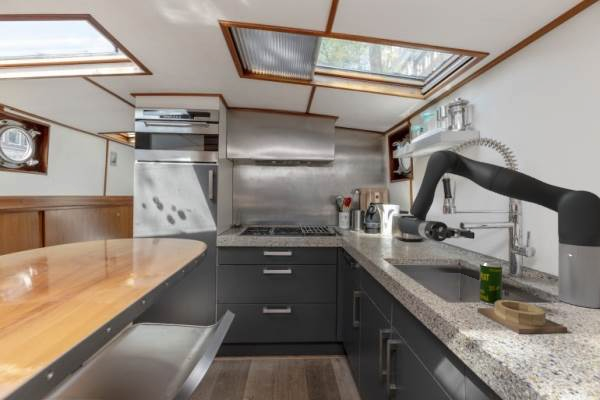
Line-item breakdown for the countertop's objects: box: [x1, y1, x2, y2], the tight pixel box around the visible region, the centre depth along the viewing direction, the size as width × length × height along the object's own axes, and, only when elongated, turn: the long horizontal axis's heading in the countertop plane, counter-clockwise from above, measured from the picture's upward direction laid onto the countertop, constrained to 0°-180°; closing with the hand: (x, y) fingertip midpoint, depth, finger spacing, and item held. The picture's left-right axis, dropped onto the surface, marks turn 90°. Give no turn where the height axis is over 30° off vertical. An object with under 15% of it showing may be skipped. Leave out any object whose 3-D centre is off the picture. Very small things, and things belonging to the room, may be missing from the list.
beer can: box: [478, 259, 503, 307], centre depth 79 cm, size 5×5×12 cm
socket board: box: [477, 299, 568, 334], centre depth 67 cm, size 12×12×4 cm
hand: (461, 235), depth 91 cm, fingers open, 8 cm apart
